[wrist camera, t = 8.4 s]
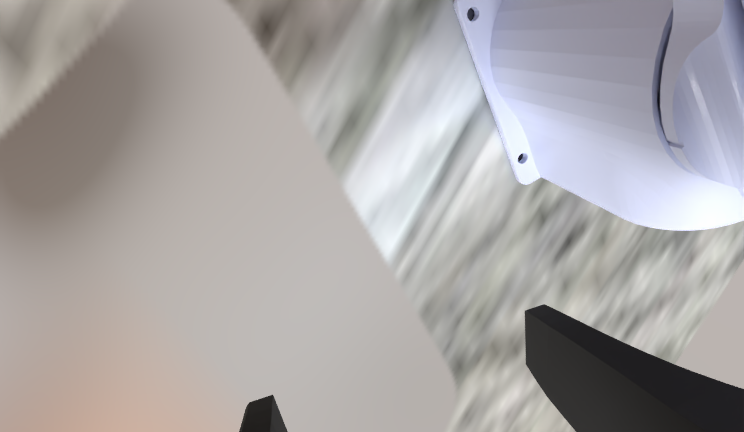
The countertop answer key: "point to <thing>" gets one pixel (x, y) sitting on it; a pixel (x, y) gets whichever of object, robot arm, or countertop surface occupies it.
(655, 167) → the robot arm
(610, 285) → the countertop surface
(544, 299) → the countertop surface
